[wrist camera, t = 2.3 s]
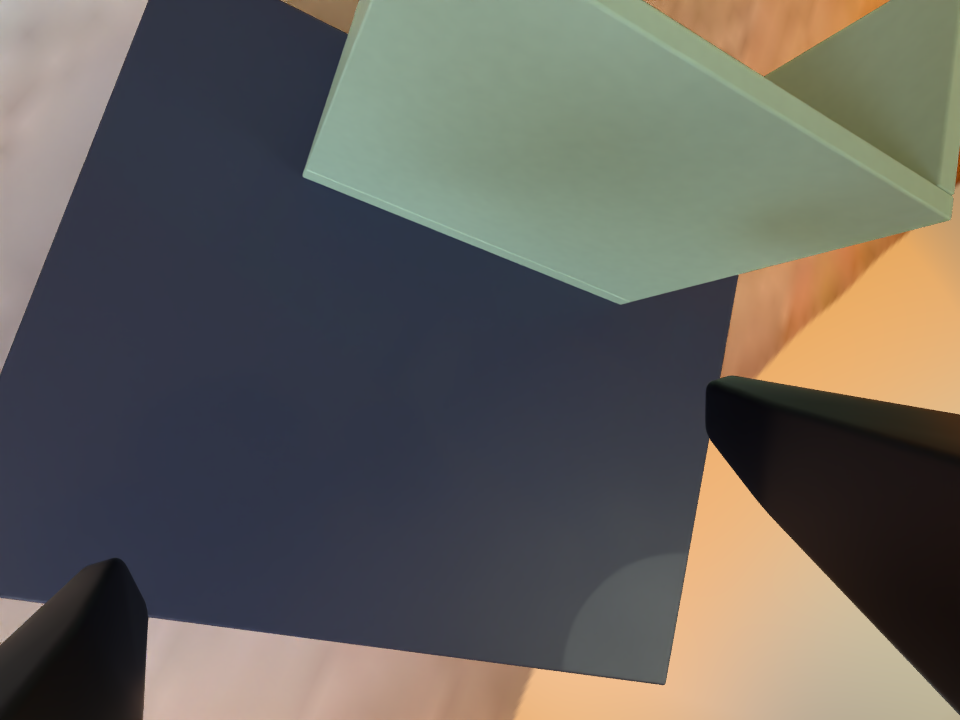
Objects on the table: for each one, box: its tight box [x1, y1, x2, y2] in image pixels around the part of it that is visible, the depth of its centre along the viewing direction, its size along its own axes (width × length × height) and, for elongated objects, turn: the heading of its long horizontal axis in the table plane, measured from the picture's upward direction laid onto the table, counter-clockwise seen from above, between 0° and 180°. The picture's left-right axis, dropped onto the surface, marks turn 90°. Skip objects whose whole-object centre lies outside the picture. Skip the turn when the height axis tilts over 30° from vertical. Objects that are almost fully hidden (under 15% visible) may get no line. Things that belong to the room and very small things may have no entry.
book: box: [0, 0, 738, 685], centre depth 20 cm, size 16×20×4 cm
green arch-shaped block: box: [303, 0, 960, 305], centre depth 14 cm, size 6×11×10 cm, turn 74°
